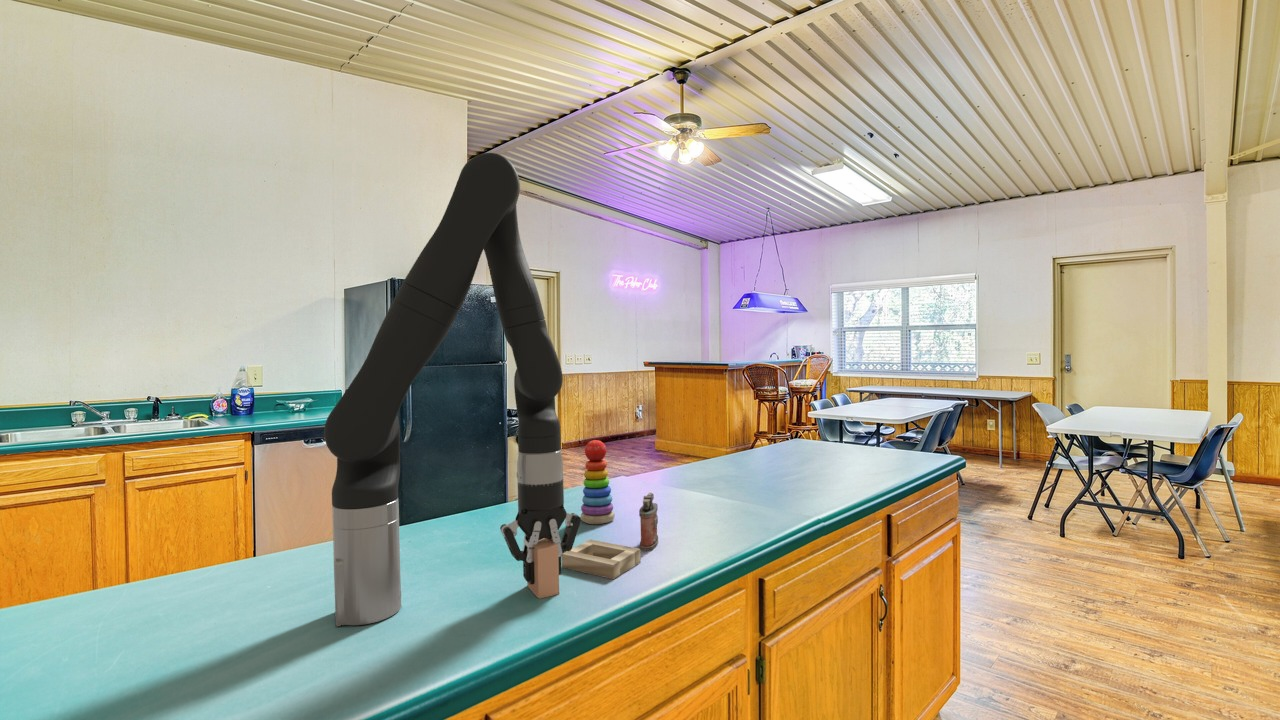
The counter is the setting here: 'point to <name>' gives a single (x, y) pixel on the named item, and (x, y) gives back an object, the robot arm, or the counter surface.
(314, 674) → the counter surface
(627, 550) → the frame
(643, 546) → the lighter
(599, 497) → the stacking toy
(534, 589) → the key block
